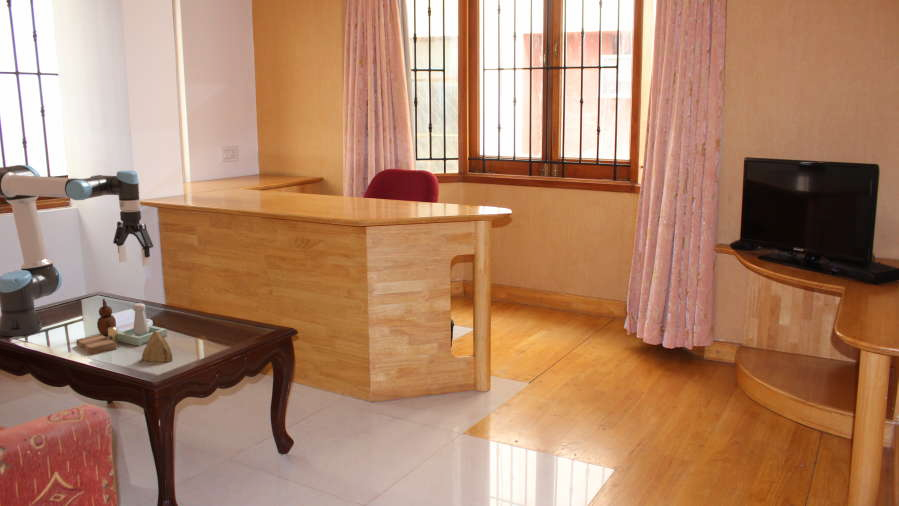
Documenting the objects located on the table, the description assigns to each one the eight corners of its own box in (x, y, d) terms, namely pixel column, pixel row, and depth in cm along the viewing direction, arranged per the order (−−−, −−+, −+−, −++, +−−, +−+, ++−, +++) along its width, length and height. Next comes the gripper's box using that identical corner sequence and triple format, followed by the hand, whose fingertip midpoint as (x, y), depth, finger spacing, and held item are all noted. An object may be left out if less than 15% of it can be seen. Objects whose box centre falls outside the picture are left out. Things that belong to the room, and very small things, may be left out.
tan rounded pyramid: (181, 353, 270) (170, 343, 277) (166, 339, 265) (155, 328, 272) (157, 376, 267) (146, 364, 274) (141, 361, 261) (131, 350, 268)
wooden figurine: (108, 337, 295) (105, 300, 292) (95, 336, 296) (92, 299, 293) (119, 332, 301) (116, 295, 298) (106, 331, 303) (103, 294, 300)
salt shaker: (144, 333, 298) (142, 301, 295) (152, 336, 294) (150, 303, 292) (130, 336, 293) (127, 304, 291) (138, 339, 290) (135, 306, 287)
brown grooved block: (77, 347, 285) (76, 339, 284) (101, 341, 291) (100, 334, 291) (91, 356, 275) (91, 348, 275) (116, 350, 282) (116, 342, 281)
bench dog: (107, 343, 288) (105, 328, 287) (114, 341, 290) (112, 326, 289) (112, 344, 286) (111, 329, 285) (119, 342, 289) (117, 327, 288)
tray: (116, 340, 291) (115, 333, 291) (144, 331, 302) (143, 324, 302) (139, 345, 285) (138, 338, 285) (167, 336, 296) (166, 329, 296)
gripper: (100, 209, 300) (105, 261, 304) (144, 214, 288) (148, 268, 293) (117, 206, 307) (121, 258, 311) (160, 211, 295) (164, 264, 299)
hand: (134, 263), depth 302 cm, fingers open, 13 cm apart
